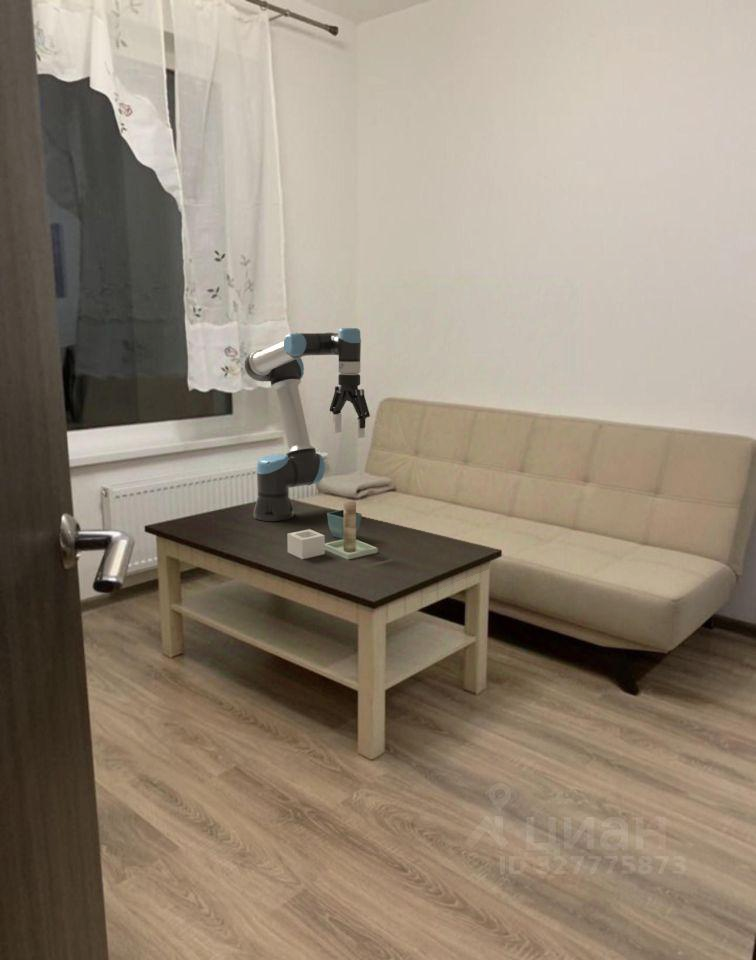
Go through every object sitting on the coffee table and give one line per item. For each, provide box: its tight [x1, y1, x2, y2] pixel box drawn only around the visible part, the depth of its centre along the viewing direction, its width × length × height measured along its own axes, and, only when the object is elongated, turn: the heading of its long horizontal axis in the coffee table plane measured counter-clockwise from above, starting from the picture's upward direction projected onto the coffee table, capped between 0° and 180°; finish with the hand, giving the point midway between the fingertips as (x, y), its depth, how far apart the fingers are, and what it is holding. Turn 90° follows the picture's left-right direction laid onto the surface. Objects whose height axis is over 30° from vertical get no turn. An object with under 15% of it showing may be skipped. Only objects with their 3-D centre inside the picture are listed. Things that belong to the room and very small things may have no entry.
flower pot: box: [326, 509, 363, 540], centre depth 260 cm, size 9×9×9 cm
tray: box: [325, 539, 378, 560], centre depth 245 cm, size 14×12×2 cm
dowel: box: [342, 500, 357, 552], centre depth 244 cm, size 4×4×16 cm
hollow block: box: [286, 528, 326, 560], centre depth 242 cm, size 9×9×7 cm
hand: (349, 434), depth 263 cm, fingers open, 13 cm apart
